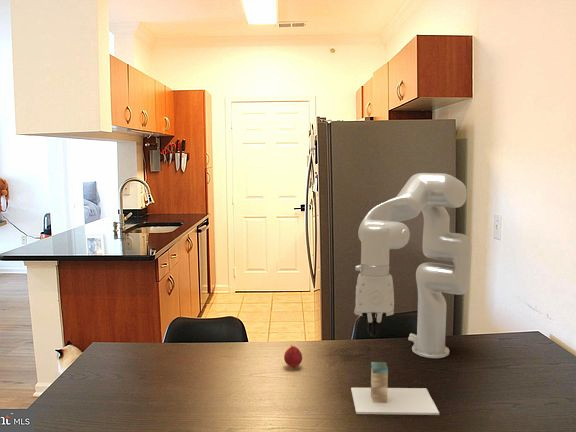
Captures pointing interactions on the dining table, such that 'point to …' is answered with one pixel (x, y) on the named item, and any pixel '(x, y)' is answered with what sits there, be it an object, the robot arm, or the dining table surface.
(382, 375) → the block
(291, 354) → the onion
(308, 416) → the dining table surface
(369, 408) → the mat
